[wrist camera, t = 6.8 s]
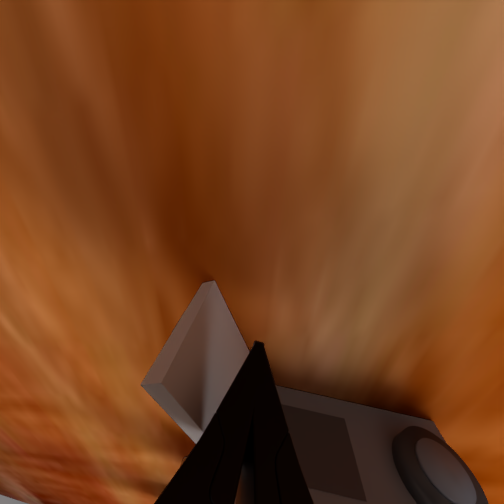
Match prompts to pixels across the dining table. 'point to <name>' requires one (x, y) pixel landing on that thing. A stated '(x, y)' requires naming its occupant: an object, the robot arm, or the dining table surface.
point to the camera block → (373, 455)
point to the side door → (197, 362)
